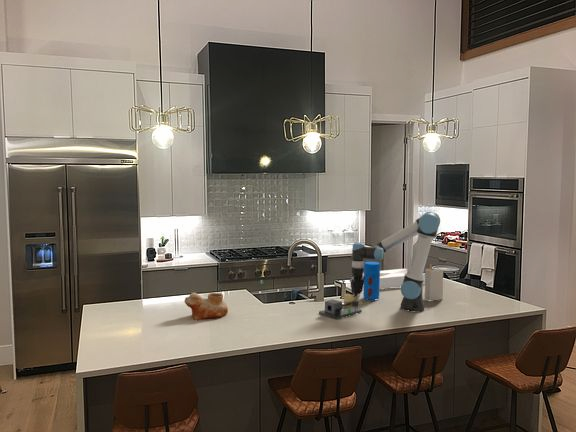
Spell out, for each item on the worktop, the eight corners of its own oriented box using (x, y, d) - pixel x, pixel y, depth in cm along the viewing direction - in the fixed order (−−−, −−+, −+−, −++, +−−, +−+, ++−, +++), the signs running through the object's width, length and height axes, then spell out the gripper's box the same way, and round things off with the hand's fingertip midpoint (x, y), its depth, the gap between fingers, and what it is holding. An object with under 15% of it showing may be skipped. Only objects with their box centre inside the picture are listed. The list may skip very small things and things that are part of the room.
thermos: (362, 300, 360) (363, 263, 358) (364, 296, 371) (365, 261, 368) (378, 301, 357) (379, 265, 355) (380, 297, 367) (381, 262, 365)
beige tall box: (442, 300, 364) (444, 264, 362) (429, 302, 359) (430, 265, 357) (434, 297, 371) (436, 262, 369) (421, 299, 366) (423, 263, 364)
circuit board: (361, 312, 330) (362, 299, 329) (336, 319, 315) (337, 305, 314) (343, 307, 341) (344, 294, 340) (318, 313, 326) (319, 300, 325)
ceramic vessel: (182, 315, 319) (182, 291, 318) (224, 311, 329) (224, 288, 327) (186, 321, 306) (186, 296, 305) (230, 317, 316) (230, 293, 314)
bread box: (406, 280, 426) (407, 268, 426) (424, 286, 406) (424, 273, 405) (359, 284, 408) (359, 272, 407) (374, 291, 388) (375, 278, 387)
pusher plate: (361, 309, 329) (361, 297, 328) (344, 314, 318) (344, 301, 318) (346, 305, 338) (347, 293, 337) (329, 310, 327) (329, 297, 326)
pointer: (358, 309, 326) (358, 301, 326) (356, 309, 325) (356, 302, 325) (354, 308, 329) (354, 300, 328) (352, 308, 328) (352, 300, 327)
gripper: (359, 265, 343) (358, 300, 345) (346, 267, 334) (345, 303, 337) (368, 266, 337) (367, 302, 340) (355, 269, 329) (354, 306, 331)
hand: (356, 303), depth 338 cm, fingers closed
